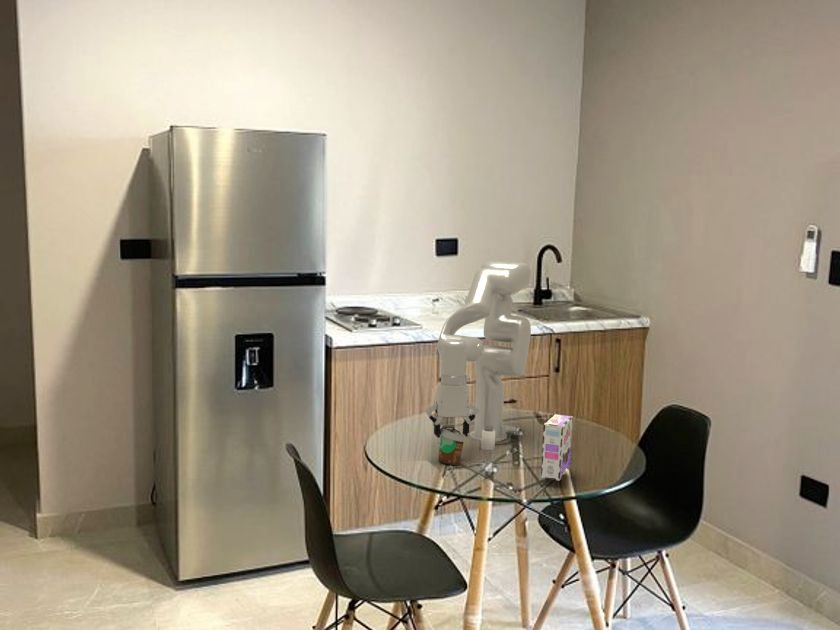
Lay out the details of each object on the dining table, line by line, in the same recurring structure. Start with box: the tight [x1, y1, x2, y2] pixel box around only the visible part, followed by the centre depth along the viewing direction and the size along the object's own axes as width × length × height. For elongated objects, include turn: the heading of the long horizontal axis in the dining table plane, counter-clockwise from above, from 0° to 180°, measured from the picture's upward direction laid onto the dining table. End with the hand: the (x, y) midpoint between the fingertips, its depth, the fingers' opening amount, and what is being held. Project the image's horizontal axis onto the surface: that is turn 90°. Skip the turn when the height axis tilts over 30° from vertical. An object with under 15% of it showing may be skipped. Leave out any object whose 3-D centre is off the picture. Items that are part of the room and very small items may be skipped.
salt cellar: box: [480, 426, 496, 451], centre depth 278 cm, size 4×4×7 cm
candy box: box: [540, 414, 573, 482], centre depth 253 cm, size 14×6×16 cm, turn 157°
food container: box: [438, 424, 466, 467], centre depth 261 cm, size 12×6×10 cm, turn 14°
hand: (451, 435), depth 262 cm, fingers open, 8 cm apart
